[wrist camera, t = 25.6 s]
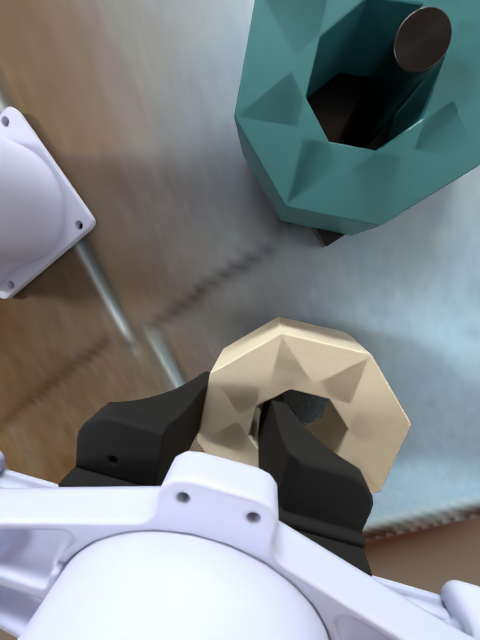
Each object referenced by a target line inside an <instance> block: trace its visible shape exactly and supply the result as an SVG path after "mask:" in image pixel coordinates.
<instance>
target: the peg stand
mask: <svg viewBox="0 0 480 640" xmlns="http://www.w3.org/2000/svg"><path fill="white" fill-rule="evenodd" d="M451 37H452V26H451V22H450V19H449V17H448V16H447V14H446V13H445V12H444V11H443V10H441V9H439V8H437V7H430V6H429V7H423V8H420V9H418V10H416V11H414V12H413V13H412V14H410V15H409V16H408V17H407V18H406V19H405V20H404V21H403V22H402V24H401V25H400V27H399V28H398V30H397V32H396V34H395V36H394V37H393V39H392V41H391V43H390V45H389V47H388V48H387V50H386V52H385V54H384V56H383V57H382V59H381V61H380V63H379V65H378V66H377V68H376V70H375V72H374V74H373V76H372V77H371V78H369V77H363V76H357V75H351V74H346V73H338V74H337V75H336V76H335V77H333V78H332V79H331V80H330V81H328V82H327V83H326V84H325V85H323V86H322V87H321V88H319V89H318V90H317V91H316V92H314V93H313V94H312V95H311V96H309V97H308V98H307V101H308V103H309V105H310V107H311V109H312V111H313V112H314V114H315V116H316V118H317V120H318V122H319V124H320V126H321V128H322V130H323V132H324V134H325V136H326V137H327V139H328V141H329V142H332V143H338V144H343V145H348V146H354V147H359V148H364V149H370V150H375V151H376V150H378V149H379V148H381V147H382V146H383V145H385V144H386V143H387V139H388V136H389V133H390V130H391V127H392V124H393V121H394V118H395V114H396V113H397V112H398V110H399V109H400V108H401V107H402V106H403V105H404V103H405V102H406V101H407V100H408V99H409V97H410V96H411V95H412V94H413V93H414V92H415V90H416V89H417V88H418V87H419V86H420V84H421V83H422V82H423V81H424V80H425V79H426V77H427V76H428V75H429V74H430V73H431V71H432V70H433V69H434V68H435V67H436V66H437V64H438V63H439V62H440V61H441V60H442V58H443V57H444V55H445V54H446V52H447V50H448V48H449V45H450V42H451ZM311 228H312V230H313V232H314V233H315V235H316V237H317V239H318V240H319V242H320V244H321V246H322V247H325V246H328V245H330V244H331V243H333V242H334V241H336V240H338V239H339V238H341V237H342V236H344V235H345V234H342V233H337V232H333V231H328V230H323V229H318V228H314V227H311Z"/></svg>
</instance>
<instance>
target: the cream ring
mask: <svg viewBox="0 0 480 640" xmlns="http://www.w3.org/2000/svg"><path fill="white" fill-rule="evenodd" d="M289 389H292V390H296V391H300V392H304V393H308V394H312V395H316V396H320V397H324V398H328V400H327V403H326V406H325V408H324V411H323V414H322V417H321V418H319V419H317V420H315V421H312V422H310V423H308V424H306V425H304V426H305V427H306V428H307V429H308V430H309V431H310V432H311V433H312V434H313V435H314V436H315V437H316V438H317V439H318V440H319V441H320V442H322V443H323V444H324V445H325V446H326V447H328V448H329V449H330V450H332V451H333V452H334V453H336V454H337V455H339V456H340V457H342V458H343V459H345V460H346V461H348V462H350V463H351V464H353V465H354V466H356V467H358V468H359V469H360V470H361V472H362V474H363V476H364V478H365V480H366V483H367V485H368V487H369V490H370V492H371V494H372V493H375V492H378V491H380V490H381V488H382V486H383V484H384V482H385V480H386V477H387V475H388V473H389V471H390V469H391V467H392V465H393V462H394V460H395V458H396V456H397V454H398V452H399V450H400V448H401V445H402V443H403V441H404V439H405V437H406V435H407V433H408V430H409V428H410V426H411V424H410V421H409V419H408V417H407V416H406V414H405V412H404V410H403V409H402V407H401V405H400V403H399V402H398V400H397V398H396V397H395V395H394V393H393V391H392V390H391V388H390V386H389V384H388V383H387V381H386V379H385V377H384V376H383V374H382V372H381V370H380V369H379V367H378V365H377V363H376V362H375V360H374V358H373V356H372V355H371V354H370V353H369V352H368V351H367V350H366V349H364V348H363V347H362V346H361V345H360V344H359V343H358V342H357V341H355V340H354V339H353V338H352V337H351V336H350V335H349V334H347V333H346V332H343V331H338V330H334V329H330V328H326V327H321V326H317V325H313V324H308V323H304V322H300V321H296V320H291V319H287V318H283V317H277V318H275V319H273V320H272V321H270V322H268V323H267V324H265V325H263V326H262V327H260V328H258V329H256V330H255V331H253V332H251V333H250V334H248V335H246V336H244V337H243V338H241V339H239V340H238V341H236V342H234V343H232V344H231V345H229V346H227V347H226V348H224V349H223V350H222V352H221V354H220V356H219V358H218V360H217V362H216V363H215V365H214V367H213V369H212V371H211V373H210V376H209V381H208V386H207V391H206V396H205V401H204V406H203V411H202V416H201V421H200V426H199V431H198V437H197V442H198V443H199V444H200V446H201V447H202V448H203V450H204V451H205V452H206V454H210V455H214V456H217V457H221V458H225V459H228V460H232V461H236V462H239V463H243V464H247V465H250V466H254V467H258V468H259V463H258V427H259V419H260V414H261V411H260V409H259V408H258V406H257V405H259V404H261V403H263V402H265V401H267V400H269V399H271V398H273V397H275V396H277V395H279V394H281V393H283V392H285V391H287V390H289Z"/></svg>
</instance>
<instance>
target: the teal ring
mask: <svg viewBox="0 0 480 640" xmlns="http://www.w3.org/2000/svg"><path fill="white" fill-rule="evenodd" d="M429 6H430V7H437V8H439V9H441V10H443V11H444V12H445V13H446V14H447V16H448V17H449V19H450V22H451V26H452V37H451V42H450V45H449V48H448V50H447V52H446V54H445V55H444V57H443V58H442V60H441V61H440V62H439V63H438V64H437V66H436V67H435V68H434V69H433V70H432V71H431V73H430V74H429V75H428V76H427V77H426V79H425V80H424V81H423V82H422V83H421V84H420V86H419V87H418V88H417V89H416V90H415V92H414V93H413V94H412V95H411V96H410V97H409V99H408V100H407V101H406V102H405V103H404V105H403V106H402V107H401V108H400V109H399V110H398V112H397V113H396V114H395V118H394V121H393V124H392V127H391V130H390V133H389V136H388V139H387V143H386V144H385V145H383V146H382V147H381V148H379V149H378V150H376V151H375V150H370V149H364V148H359V147H354V146H348V145H343V144H338V143H332V142H329V141H328V139H327V137H326V136H325V134H324V132H323V130H322V128H321V126H320V124H319V122H318V120H317V118H316V116H315V114H314V112H313V111H312V109H311V107H310V105H309V103H308V101H307V98H308V97H309V96H311V95H312V94H313V93H314V92H316V91H317V90H318V89H319V88H321V87H322V86H323V85H325V84H326V83H327V82H328V81H330V80H331V79H332V78H333V77H335V76H336V75H337V74H338V73H346V74H351V75H357V76H363V77H369V78H371V77H372V76H373V74H374V72H375V70H376V68H377V66H378V65H379V63H380V61H381V59H382V57H383V56H384V54H385V52H386V50H387V48H388V47H389V45H390V43H391V41H392V39H393V37H394V36H395V34H396V32H397V30H398V28H399V27H400V25H401V24H402V22H403V21H404V20H405V19H406V18H407V17H408V16H409V15H410V14H412V13H413V12H414V11H416V10H418V9H420V8H423V7H429ZM234 117H235V121H236V126H237V130H238V135H239V139H240V143H241V148H242V152H243V156H244V157H245V159H246V161H247V163H248V164H249V166H250V168H251V169H252V171H253V173H254V175H255V176H256V178H257V180H258V182H259V183H260V185H261V187H262V189H263V190H264V192H265V194H266V195H267V197H268V199H269V201H270V202H271V204H272V206H273V208H274V209H275V211H276V213H277V214H278V216H279V218H280V220H282V221H285V222H290V223H295V224H300V225H304V226H309V227H314V228H318V229H323V230H328V231H333V232H337V233H342V234H347V235H355V234H357V233H360V232H363V231H366V230H369V229H372V228H375V227H378V226H381V225H383V224H384V223H386V222H387V221H389V220H391V219H392V218H394V217H396V216H397V215H399V214H401V213H402V212H404V211H405V210H407V209H409V208H410V207H412V206H414V205H415V204H417V203H419V202H420V201H422V200H423V199H425V198H427V197H428V196H430V195H432V194H433V193H435V192H437V191H438V190H440V189H441V188H443V187H445V186H446V185H448V184H450V183H451V182H453V181H455V180H456V179H458V178H459V177H461V176H463V175H464V174H466V173H468V172H469V171H471V170H472V169H474V168H476V167H477V166H479V165H480V0H255V3H254V9H253V15H252V20H251V26H250V31H249V37H248V43H247V48H246V54H245V60H244V65H243V71H242V76H241V82H240V88H239V93H238V99H237V105H236V110H235V116H234Z"/></svg>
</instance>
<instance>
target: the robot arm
mask: <svg viewBox="0 0 480 640" xmlns="http://www.w3.org/2000/svg"><path fill="white" fill-rule="evenodd" d="M8 123H9V125H8ZM81 223H82V224H83V228H82V229H81V228H80V224H81ZM95 224H96V222H95V218H94V216H93V215H92V214H91V212H90V211H89V209H88V208H87V206H86V205H85V204H84V202H83V201H82V199H81V198H80V196H79V195H78V194H77V192H76V191H75V189H74V188H73V186H72V185H71V184H70V182H69V181H68V179H67V178H66V176H65V175H64V174H63V172H62V171H61V169H60V168H59V166H58V165H57V164H56V162H55V161H54V159H53V158H52V156H51V155H50V154H49V152H48V151H47V149H46V148H45V146H44V145H43V144H42V142H41V141H40V139H39V138H38V136H37V135H36V134H35V132H34V131H33V129H32V128H31V126H30V125H29V123H28V122H27V121H26V119H25V118H24V116H23V115H22V114H21V113H20V111H18V110H16V109H15V108H13V107H7V108H6V109H5V110H4V111H3V112H2V113H1V114H0V298H2V299H10V298H12V297H13V296H14V295H16V294H17V293H18V292H19V291H20V290H21V289H23V288H24V287H25V286H26V285H27V284H28V283H30V282H31V281H32V280H33V279H34V278H36V277H37V276H38V275H39V274H40V273H41V272H43V271H44V270H45V269H46V268H47V267H49V266H50V265H51V264H52V263H53V262H54V261H56V260H57V259H58V258H59V257H60V256H61V255H63V254H64V253H65V252H66V251H67V250H69V249H70V248H71V247H72V246H73V245H74V244H76V243H77V242H78V241H79V240H80V239H81V238H83V237H84V236H85V235H86V234H87V233H89V232H90V231H91V230H92V229H93V228H94V227H95ZM13 283H14V285H13ZM209 376H210V372H204V373H202V374H201V375H199V376H198V377H196V378H195V379H193V380H191V381H190V382H188V383H186V384H184V385H182V386H180V387H178V388H176V389H174V390H172V391H169V392H166V393H164V394H161V395H157V396H153V397H150V398H145V399H140V400H134V401H125V402H109V403H108V404H107V405H105V406H104V407H103V408H101V409H100V410H99V411H98V412H97V413H96V414H95V415H94V416H92V417H91V418H90V419H89V420H88V421H87V422H86V423H84V424H83V425H82V427H81V429H80V430H79V432H78V437H77V455H76V466H75V467H74V468H73V469H72V471H71V472H70V473H69V474H68V475H67V476H66V477H65V478H64V479H63V480H62V481H61V482H60V483H59V484H55V483H52V482H48V481H45V480H42V479H38V478H35V477H31V476H28V475H24V474H21V473H17V472H14V471H11V470H7V469H4V468H5V457H4V454H3V453H2V452H1V451H0V628H1V629H3V630H4V631H6V632H8V633H10V634H11V635H13V636H15V637H17V638H18V640H480V587H479V586H476V585H472V584H469V583H465V582H462V581H458V580H451V581H447V582H446V583H445V584H444V585H443V587H442V590H441V592H440V595H438V594H435V593H431V592H428V591H425V590H421V589H418V588H414V587H411V586H407V585H404V584H400V583H397V582H393V581H390V580H387V579H383V578H380V577H376V576H373V575H372V573H371V570H370V567H369V564H368V561H367V558H366V556H365V553H364V550H363V547H365V539H364V536H363V533H362V530H363V528H364V525H365V523H366V521H367V519H368V517H369V515H370V513H371V509H372V506H373V498H372V494H371V492H370V490H369V487H368V485H367V483H366V480H365V478H364V476H363V474H362V472H361V470H360V469H359V468H358V467H356V466H354V465H353V464H351V463H350V462H348V461H346V460H345V459H343V458H342V457H340V456H339V455H337V454H336V453H334V452H333V451H332V450H330V449H329V448H328V447H326V446H325V445H324V444H323V443H322V442H320V441H319V440H318V439H317V438H316V437H315V436H314V435H313V434H312V433H311V432H310V431H309V430H308V429H307V428H306V427H305V426H304V425H303V424H302V423H301V422H300V421H299V419H298V418H297V417H296V416H295V414H294V413H293V412H292V410H291V409H290V407H289V406H288V404H287V403H286V401H285V400H284V398H283V396H282V395H281V394H279V395H277V396H275V397H273V398H271V399H269V400H267V401H265V402H264V403H263V406H262V410H261V414H260V419H259V427H258V463H259V468H258V467H254V466H250V465H247V464H243V463H239V462H236V461H232V460H228V459H225V458H221V457H217V456H214V455H210V454H206V453H202V452H193V451H189V449H190V447H191V445H192V443H193V441H194V439H195V437H196V435H197V433H198V431H199V426H200V421H201V416H202V411H203V406H204V401H205V396H206V391H207V386H208V381H209Z"/></svg>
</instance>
